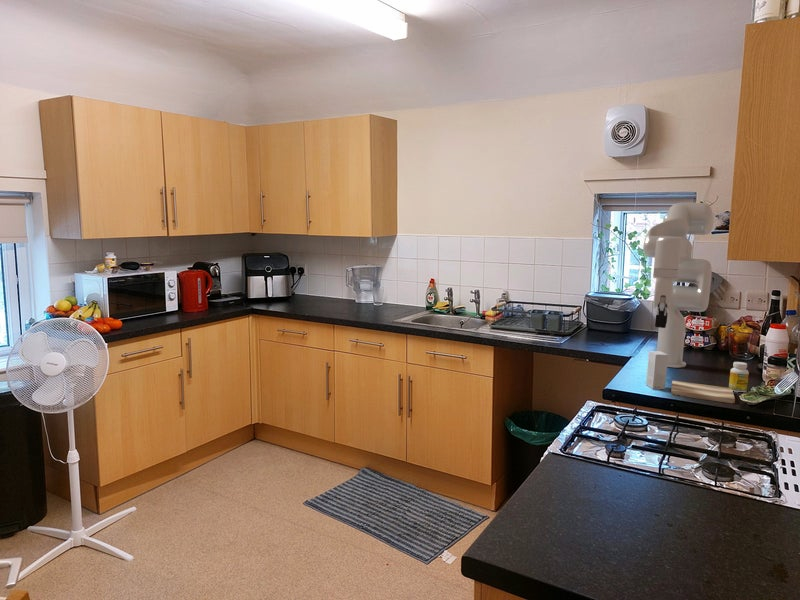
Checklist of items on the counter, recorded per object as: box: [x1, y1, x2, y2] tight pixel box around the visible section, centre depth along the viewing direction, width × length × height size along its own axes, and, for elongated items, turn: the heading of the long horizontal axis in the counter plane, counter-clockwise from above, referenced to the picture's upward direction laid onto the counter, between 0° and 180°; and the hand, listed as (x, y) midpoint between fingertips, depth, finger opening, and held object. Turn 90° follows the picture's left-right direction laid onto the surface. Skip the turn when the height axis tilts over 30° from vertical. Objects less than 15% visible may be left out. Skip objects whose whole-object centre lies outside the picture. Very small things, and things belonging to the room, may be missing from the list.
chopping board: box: [670, 380, 736, 404], centre depth 193 cm, size 14×18×2 cm
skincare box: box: [645, 350, 668, 390], centre depth 198 cm, size 6×4×12 cm
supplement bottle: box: [728, 361, 750, 393], centre depth 197 cm, size 5×5×10 cm
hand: (660, 325), depth 196 cm, fingers open, 9 cm apart
